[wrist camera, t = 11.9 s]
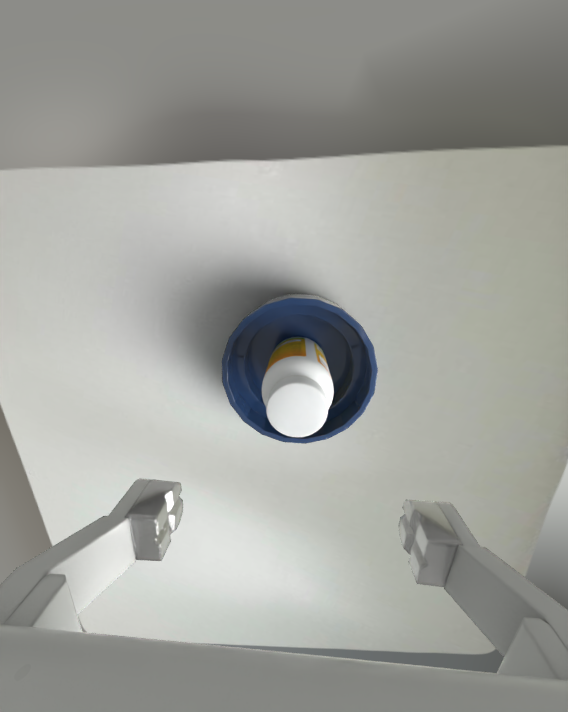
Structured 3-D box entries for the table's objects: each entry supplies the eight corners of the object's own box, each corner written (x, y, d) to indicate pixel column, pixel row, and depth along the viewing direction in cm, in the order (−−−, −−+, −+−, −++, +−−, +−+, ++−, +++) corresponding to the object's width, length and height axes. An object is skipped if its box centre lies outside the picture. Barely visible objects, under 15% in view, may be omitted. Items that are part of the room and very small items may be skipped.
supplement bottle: (262, 374, 27) (242, 428, 18) (283, 326, 25) (274, 358, 16) (310, 395, 27) (316, 459, 18) (335, 349, 26) (354, 393, 17)
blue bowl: (233, 290, 25) (220, 293, 21) (373, 297, 25) (389, 302, 20) (234, 413, 29) (223, 437, 25) (355, 421, 29) (365, 448, 24)
